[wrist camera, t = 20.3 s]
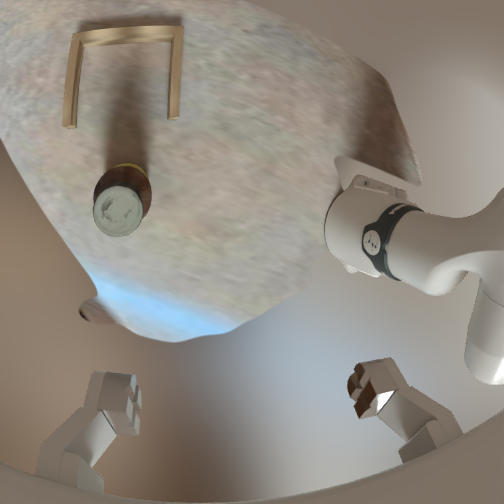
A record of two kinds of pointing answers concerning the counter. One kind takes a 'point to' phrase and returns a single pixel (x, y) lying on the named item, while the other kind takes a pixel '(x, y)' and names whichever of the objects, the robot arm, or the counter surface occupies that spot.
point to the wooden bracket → (121, 37)
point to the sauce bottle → (121, 199)
